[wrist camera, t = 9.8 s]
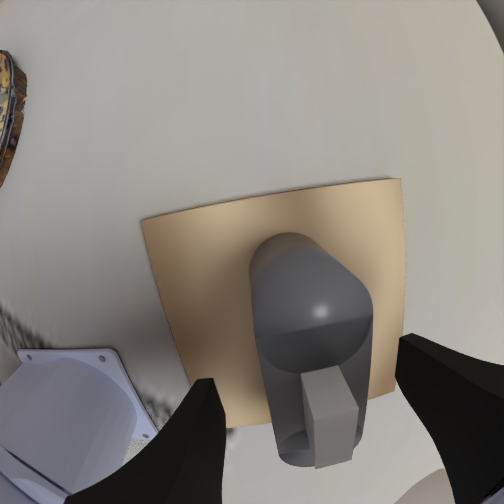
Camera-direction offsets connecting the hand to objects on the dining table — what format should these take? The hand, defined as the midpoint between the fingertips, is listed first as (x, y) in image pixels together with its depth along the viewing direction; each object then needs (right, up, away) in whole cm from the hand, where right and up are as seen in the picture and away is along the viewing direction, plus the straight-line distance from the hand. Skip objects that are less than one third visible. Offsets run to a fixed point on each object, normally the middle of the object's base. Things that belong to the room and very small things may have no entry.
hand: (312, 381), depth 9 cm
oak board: (0, +1, +4) cm, 5 cm away
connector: (0, +1, +4) cm, 4 cm away
